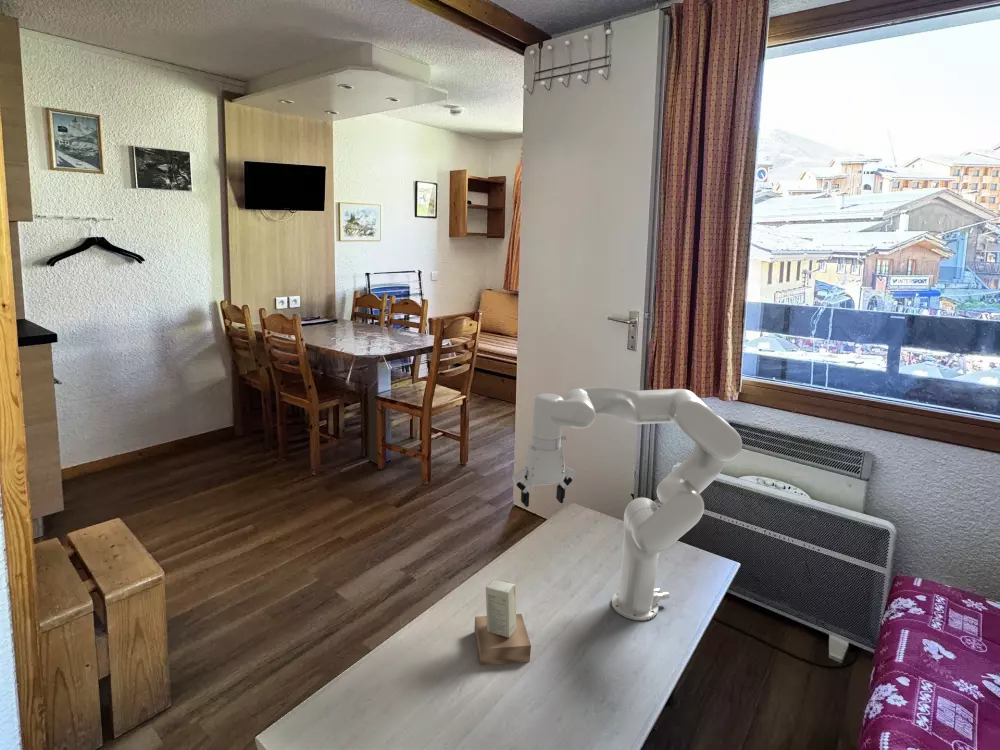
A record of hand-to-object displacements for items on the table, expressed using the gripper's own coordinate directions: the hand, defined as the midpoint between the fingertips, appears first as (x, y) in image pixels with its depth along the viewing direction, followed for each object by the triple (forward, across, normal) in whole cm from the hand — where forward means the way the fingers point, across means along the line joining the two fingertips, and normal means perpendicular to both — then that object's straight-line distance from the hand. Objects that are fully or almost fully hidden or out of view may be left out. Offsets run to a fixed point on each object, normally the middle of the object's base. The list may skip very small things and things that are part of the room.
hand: (542, 502), depth 162 cm
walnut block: (+31, +14, +14) cm, 37 cm away
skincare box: (+26, +15, +14) cm, 33 cm away
